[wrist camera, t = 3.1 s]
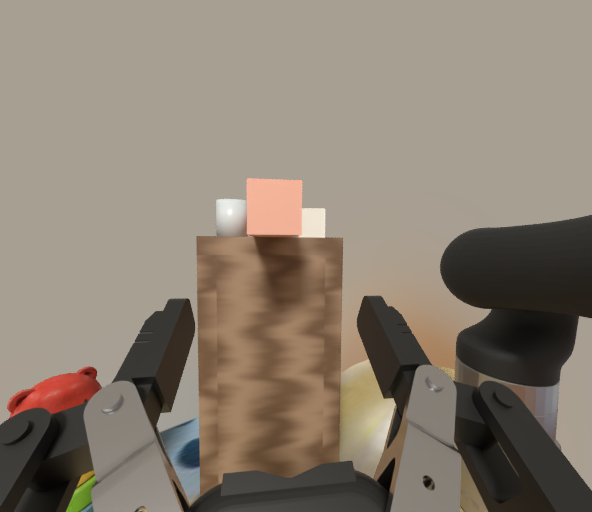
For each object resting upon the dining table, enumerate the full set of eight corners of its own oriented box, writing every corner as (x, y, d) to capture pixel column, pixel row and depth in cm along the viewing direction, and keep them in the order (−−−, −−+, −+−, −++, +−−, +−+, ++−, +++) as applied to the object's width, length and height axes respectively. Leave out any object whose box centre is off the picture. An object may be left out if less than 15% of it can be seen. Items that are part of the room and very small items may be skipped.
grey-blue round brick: (248, 238, 37) (248, 204, 36) (246, 237, 32) (246, 199, 32) (219, 237, 36) (219, 203, 36) (213, 237, 32) (213, 198, 32)
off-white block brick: (317, 238, 38) (317, 212, 38) (324, 238, 33) (325, 208, 33) (294, 238, 38) (294, 212, 38) (298, 238, 33) (298, 207, 33)
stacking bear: (-13, 669, 18) (-29, 437, 17) (-21, 563, 24) (-34, 386, 23) (146, 529, 27) (141, 371, 26) (111, 477, 33) (106, 346, 32)
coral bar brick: (282, 238, 41) (282, 214, 41) (301, 235, 18) (302, 180, 18) (258, 238, 41) (258, 214, 40) (247, 234, 18) (246, 178, 18)
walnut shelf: (315, 419, 44) (317, 239, 42) (338, 502, 30) (343, 237, 28) (223, 426, 42) (221, 238, 40) (200, 519, 28) (196, 236, 26)
